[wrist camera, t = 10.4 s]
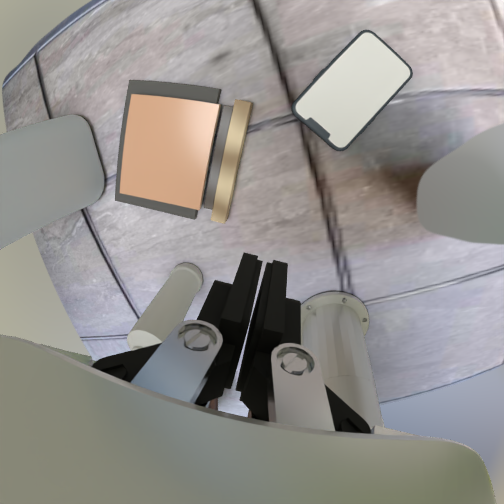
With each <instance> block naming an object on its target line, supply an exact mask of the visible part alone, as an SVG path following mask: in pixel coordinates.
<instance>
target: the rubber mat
mask: <svg viewBox="0 0 504 504" xmlns="http://www.w3.org/2000/svg"><path fill="white" fill-rule="evenodd" d="M220 92H221V89H216V88H210V87H203V86H195V85H187V84H178V83H168V82H156V81H140V80H129V85H128V90H127V96H126V102H125V108H124V114H123V121H122V128H121V136H120V144H119V154H118V164H117V176H116V190H115V201H120V202H124V203H128V204H132V205H136V206H141V207H145V208H149V209H153V210H157V211H161V212H166V213H170V214H174V215H178V216H182V217H186V218H190V219H194V220H195V219H196V217H197V212H198V210H196V209H192V208H187V207H183V206H178V205H174V204H169V203H165V202H160V201H155V200H151V199H146V198H141V197H136V196H132V195H127V194H122V193H120V181H121V169H122V159H123V149H124V141H125V133H126V126H127V119H128V112H129V106H130V100H131V94H140V95H152V96H162V97H171V98H179V99H187V100H194V101H201V102H208V103H214V104H218V101H219V97H220Z"/></svg>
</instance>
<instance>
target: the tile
mask: <svg viewBox="0 0 504 504" xmlns="http://www.w3.org/2000/svg"><path fill="white" fill-rule="evenodd" d="M220 109H221V105H220V104H214V103H208V102H201V101H194V100H187V99H179V98H171V97H162V96H152V95H140V94H131V100H130V106H129V112H128V119H127V126H126V133H125V141H124V149H123V159H122V169H121V181H120V193H122V194H127V195H132V196H136V197H141V198H146V199H151V200H155V201H160V202H165V203H169V204H174V205H178V206H183V207H187V208H192V209H196V210H200V209H201V207H202V201H203V196H204V190H205V184H206V179H207V173H208V168H209V163H210V157H211V152H212V147H213V142H214V137H215V132H216V127H217V123H218V118H219V113H220Z"/></svg>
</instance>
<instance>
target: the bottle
mask: <svg viewBox="0 0 504 504" xmlns="http://www.w3.org/2000/svg"><path fill="white" fill-rule="evenodd" d="M202 282H203V279H202V273H201V272H200V270H199V269H198V268H197V267H196V266H195V265H193V264H190V263H182V264H179V265H177V266H176V267H175V268H174V269H173V270H172V271H171V273H170V276H169V279H168V280H167V281H166V283H165V284H164V285H163V287H162V288H161V289H160V291H159V292H158V293H157V295H156V296H155V298H154V299H153V300H152V302H151V303H150V305H149V306H148V307H147V309H146V310H145V311H144V313H143V314H142V316H141V317H140V318H139V320H138V321H137V323H136V324H135V326H134V327H133V328H132V330H131V331H130V333H129V334H128V336H127V342H128V345H129V348H130V349H131V351H132V350H136V349H140V348H144V347H147V346H151V345H155V344H159V343H162V342H163V341H164V340H165V339H166V337H167V336H168V335H169V334H170V332H171V331H172V330H173V329H174V328H175V327H176V326H177V325H178V324H179V323H181V322H183V320H184V318H185V316H186V314H187V311H188V309H189V307H190V305H191V303H192V301H193V299H194V296H195V294H196V293H197V292H198V291H199V290H200V288H201V285H202Z"/></svg>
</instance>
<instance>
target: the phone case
mask: <svg viewBox="0 0 504 504" xmlns="http://www.w3.org/2000/svg"><path fill="white" fill-rule="evenodd" d="M412 75H413V72H412V69H411V67H410V66H409V65H408V64H407V63H406V62H405V61H404V60H403V59H402V58H401V57H400V56H399V55H398V54H397V53H396V52H395V51H394V50H393V49H392V48H391V47H390V46H389V45H387V44H386V43H385V42H384V41H383V40H382V39H381V38H380V37H378V36H377V35H376V34H375V33H374V32H372V31H370V30H363V31H361V32H360V33H359V34H358V35H357V36H356V37H355V38H354V39H353V40H352V41H351V42H350V43H349V44H348V45H347V46H346V47H345V48H344V49H343V50H342V51H341V52H340V53H339V54H338V55H337V56H336V57H335V58H334V59H333V60H332V61H331V62H330V63H329V65H328V66H327V67H326V68H325V69H323V70H322V71H321V72H320V73H319V74H318V75H317V76H316V77H315V78H314V79H313V82H312V83H311V84H310V85H309V86H308V87H307V88H306V89H305V90H304V91H303V93H302V94H301V95H300V96H299V97H298V98H297V99H296V100H295V101H294V103H293V105H292V112H293V114H294V116H296V117H297V118H298V119H299V120H300V121H302V122H303V123H304V124H305V125H306V126H308V127H309V128H310V129H311V130H312V131H313V132H315V133H316V134H317V135H318V136H319V137H320V138H321V139H323V140H324V141H325V142H326V143H327V144H328V145H329V146H330V147H332V148H333V149H334V150H336V151H343V150H345V149H347V148H348V147H349V146H350V144H351V143H352V142H353V141H354V140H355V139H356V138H357V137H358V136H359V135H360V134H361V133H362V132H363V131H364V130H365V129H366V128H367V126H368V125H370V123H371V122H372V121H373V120H374V119H375V117H376V116H377V115H378V114H379V113H380V112H381V111H382V110H383V108H384V107H385V106H386V105H387V104H388V103H389V102H390V101H391V100H392V99H393V97H394V96H395V95H396V94H397V93H398V92H399V91H400V90H401V89H402V88H403V87H404V85H405V84H406V83H407V82H408V81H409V80H410V79H411V78H412Z"/></svg>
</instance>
